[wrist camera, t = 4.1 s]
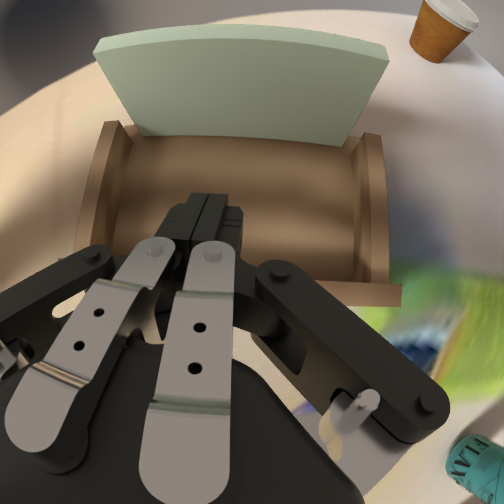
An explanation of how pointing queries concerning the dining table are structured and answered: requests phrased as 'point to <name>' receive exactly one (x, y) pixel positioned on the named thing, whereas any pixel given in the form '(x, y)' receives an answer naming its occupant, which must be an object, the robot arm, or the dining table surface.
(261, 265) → the robot arm
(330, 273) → the drawer box
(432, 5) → the disposable coffee cup
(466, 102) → the dining table surface
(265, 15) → the dining table surface
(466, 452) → the beverage bottle
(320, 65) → the panel
